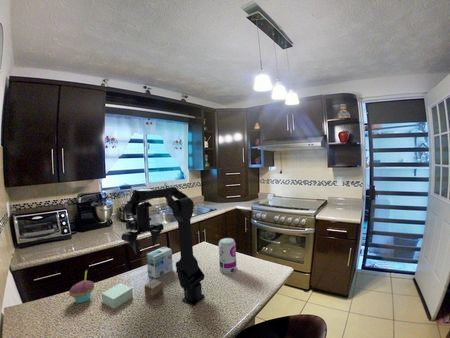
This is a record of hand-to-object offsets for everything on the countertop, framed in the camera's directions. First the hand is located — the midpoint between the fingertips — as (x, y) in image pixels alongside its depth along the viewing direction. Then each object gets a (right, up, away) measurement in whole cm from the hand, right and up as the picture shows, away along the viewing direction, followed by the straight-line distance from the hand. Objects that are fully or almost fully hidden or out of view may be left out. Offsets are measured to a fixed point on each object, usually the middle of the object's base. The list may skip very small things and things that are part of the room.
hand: (145, 249), depth 99 cm
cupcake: (-21, -16, -12) cm, 29 cm away
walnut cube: (+8, -15, -11) cm, 20 cm away
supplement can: (+39, -13, +6) cm, 41 cm away
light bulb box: (+5, -14, +7) cm, 17 cm away
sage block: (-6, -16, -13) cm, 21 cm away
